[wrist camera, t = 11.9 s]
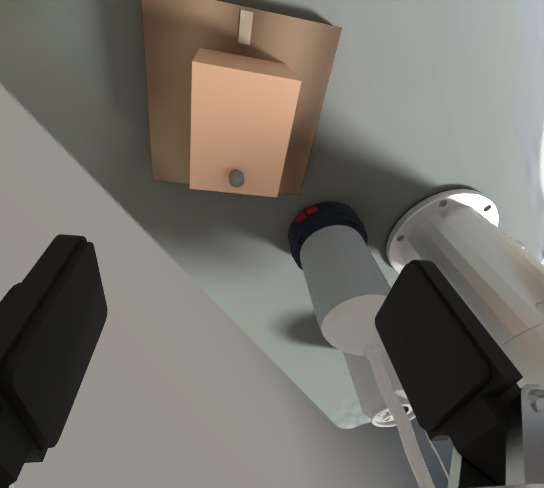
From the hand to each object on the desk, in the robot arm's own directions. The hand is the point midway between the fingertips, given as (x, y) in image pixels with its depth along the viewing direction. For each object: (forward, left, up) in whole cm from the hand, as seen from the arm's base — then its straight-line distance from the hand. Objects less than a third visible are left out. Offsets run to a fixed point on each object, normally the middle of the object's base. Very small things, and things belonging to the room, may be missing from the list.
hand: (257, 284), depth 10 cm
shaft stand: (0, 0, -20) cm, 20 cm away
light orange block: (0, 0, -18) cm, 18 cm away
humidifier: (-11, +12, -21) cm, 26 cm away
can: (-23, +31, -21) cm, 43 cm away
